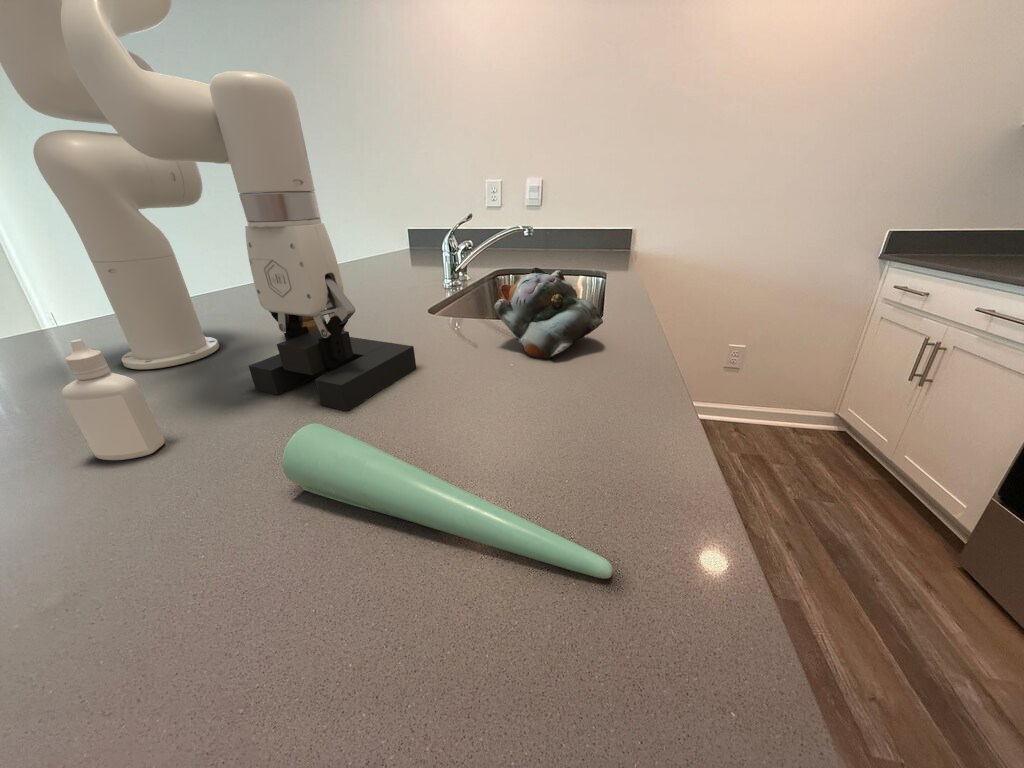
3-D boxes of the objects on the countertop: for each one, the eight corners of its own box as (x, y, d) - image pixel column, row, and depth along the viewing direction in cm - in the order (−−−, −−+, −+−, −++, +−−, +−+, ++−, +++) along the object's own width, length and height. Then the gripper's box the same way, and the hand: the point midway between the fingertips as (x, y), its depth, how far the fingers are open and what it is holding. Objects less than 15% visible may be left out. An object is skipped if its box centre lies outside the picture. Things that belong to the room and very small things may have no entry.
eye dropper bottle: (123, 469, 39) (61, 352, 34) (90, 457, 41) (27, 345, 36) (172, 445, 43) (123, 336, 37) (140, 435, 45) (88, 330, 39)
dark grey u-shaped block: (255, 389, 54) (248, 365, 53) (335, 354, 66) (330, 333, 64) (347, 411, 49) (341, 385, 47) (416, 368, 60) (413, 345, 59)
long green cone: (609, 549, 22) (274, 443, 32) (602, 614, 25) (291, 497, 35) (627, 489, 27) (326, 412, 37) (619, 549, 29) (339, 462, 39)
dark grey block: (283, 370, 51) (276, 343, 50) (326, 351, 57) (320, 327, 56) (312, 375, 50) (305, 348, 48) (353, 355, 55) (348, 331, 54)
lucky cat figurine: (537, 366, 59) (495, 278, 57) (513, 368, 71) (478, 295, 69) (618, 323, 63) (582, 239, 61) (583, 332, 75) (551, 261, 73)
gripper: (200, 213, 46) (249, 363, 53) (311, 212, 39) (348, 382, 47) (260, 210, 52) (296, 344, 60) (365, 208, 45) (390, 359, 53)
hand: (319, 359), depth 53 cm, fingers closed on dark grey block, 5 cm apart
